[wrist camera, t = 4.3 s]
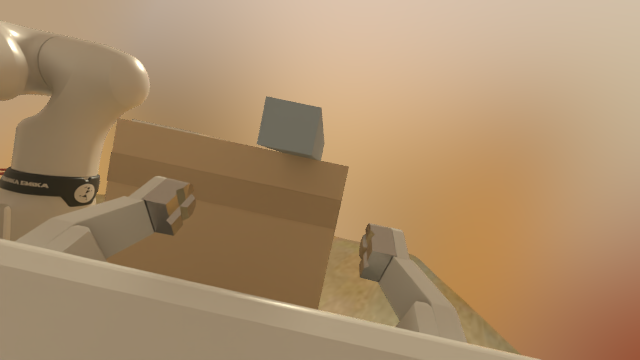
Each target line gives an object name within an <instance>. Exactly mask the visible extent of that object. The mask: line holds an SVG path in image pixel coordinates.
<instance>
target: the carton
mask: <svg viewBox="0 0 640 360" xmlns="http://www.w3.org/2000/svg"><path fill="white" fill-rule="evenodd" d="M347 173H348V166H343V165H338V164H333V163H329V162H324V161H319V160H315V159H310V158H305V157H300V156H296V155H291V154H286V153H281V152H277V151H272V150H267V149H262V148H258V147H253V146H248V145H243V144H238V143H234V142H230V141H226V140H222V139H219V138H215V137H211V136H208V135H204V134H200V133H196V132H191V131H186V130H182V129H177V128H172V127H167V126H162V125H157V124H153V123H148V122H144V121H139V120H134V119H132V121H129V120H125V119H120V118H118V119H117V126H116V131H115V137H114V144H113V150H112V152H111V157H110V164H109V170H108V176H107V181H108V182H107V188H106V194H105V200H104V202H106V201H110V200H113V199H117V198H120V197H123V196H126V197H129V196H130V195H131V194H133V193H134V192H135V191H136V190H138V189H139V188H140V187H142V186H143V185H144V184H146V183H147V182H148V181H150V180H151V179H152V178H153V177H155V176H161V177H165V178H170V179H175V180H179V181H183V182H187V183H190V184H192V185H193V188H194V191H193V193H192V195H193V196H194V198H195V200H196V205H195V209H194V211H193V214H192V215H191V216H190V217H189V218H188V219H185V220H183V226H182V227H181V228H180V229H179V230H178V231H177V233H176V234H175V235H174V236H172V235H167V234H162V233H157V232H154V233H153V234H152V235H150V236H148V237H146V238H144V239H142V240H140V241H138V242H137V243H135V244H133V245H131V246H129V247H127V248H125V249H123V250H122V251H120V252H118V253H116V254H114V255H112V256H110V257H108V258H107V259H106V260H107V262H108V263H112V264H117V265H121V266H125V267H130V268H134V269H139V270H143V271H148V272H152V273H157V274H161V275H165V276H170V277H174V278H179V279H183V280H188V281H192V282H197V283H201V284H205V285H210V286H214V287H219V288H223V289H228V290H232V291H237V292H241V293H246V294H250V295H255V296H259V297H263V298H268V299H272V300H277V301H281V302H286V303H290V304H295V305H299V306H304V307H308V308H313V309H317V310H318V306H319V301H320V297H321V292H322V287H323V283H324V278H325V274H326V269H327V264H328V260H329V255H330V251H331V246H332V241H333V237H334V232H335V228H336V224H337V218H338V214H339V210H340V205H341V200H342V196H343V191H344V186H345V182H346V177H347Z"/></svg>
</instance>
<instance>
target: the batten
mask: <svg viewBox="0 0 640 360" xmlns="http://www.w3.org/2000/svg"><path fill="white" fill-rule="evenodd" d="M257 144H258V145H261V146H265V147H267V148H270V149H273V150H276V151H279V152H282V153H286V154H291V155H296V156H300V157H305V158H310V159H315V160H319V161H321V157H322V152H323V147H324V134H323V122H322V109H321V108H320V107H315V106H310V105H305V104H300V103H296V102H291V101H286V100H281V99H276V98H272V97H266V100H265V105H264V111H263V116H262V121H261V126H260V132H259V136H258V141H257Z"/></svg>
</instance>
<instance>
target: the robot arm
mask: <svg viewBox="0 0 640 360" xmlns="http://www.w3.org/2000/svg"><path fill="white" fill-rule="evenodd" d="M149 90H150V80H149V76H148V73H147V71H146V69H145V68H144V66H143V65H142V63H141V62H140V61H139V60H138V59H137V58H135V57H133V56H131V55H129V54H127V53H125V52H123V51H120V50H118V49H115V48H113V47H111V46H108V45H105V44H100V43H95V42H91V41H86V40H81V39H77V38H73V37H68V36H64V35H59V34H55V33H50V32H46V31H41V30H37V29H33V28H29V27H25V26H20V25H16V24H13V23H9V22H4V21H1V20H0V101H6V100H10V99H13V98H15V97H16V96H18V95H26V94H35V95H46V96H51V98H50V100H49V102H48V103H47V105H46V106H45V107H44V109H42V110H41V111H40V112H39V113H38V114H36V115H35V116H32V117H29V118H26V119H24V120H22V121H21V122H20V123H19V124H18V126H17V128H16V134H15V141H14V149H13V156H12V164H11V167H9V168H7V169H0V170H1V171H5V172H2V173H0V175H3V176H2V177H1V179H0V360H540V359H536V358H531V357H527V356H522V355H518V354H514V353H509V352H505V351H500V350H496V349H491V348H487V347H482V346H478V345H473V344H469V343H467V340H466V337H465V335H464V332H463V329H462V326H461V323H460V320H459V317H458V314H457V311H456V309H455V308H454V307H453V305H452V304H451V303H450V302H449V301H448V300H447V299H446V297H445V296H444V295H443V294H442V293H441V292H440V291H439V290H438V288H437V287H436V286H435V285H434V284H433V283H432V282H431V280H430V279H429V278H428V277H427V276H426V275H425V274H424V272H423V271H422V270H421V269H420V268H419V267H418V266H417V265H416V263H415V262H414V261H413V260H410V259H409V255H408V251H407V246H406V242H405V238H404V234H403V231H402V230H399V229H394V228H388V227H384V226H379V225H375V224H370V223H369V224H368V225H367V227H366V234H365V235H364V236H363V237H362V240H361V243H360V249H359V256H360V258H361V259H362V260H361V262H360V264H359V269H360V278H364V279H368V280H372V281H376V282H379V285H380V287H381V289H382V290H383V292H384V294H385V296H386V298H387V299H388V301H389V303H390V305H391V306H392V308H393V310H394V312H395V313H396V315H397V317H398V319H399V321H400V322H399V323H398V324H397V325H396V327H393V326H389V325H384V324H380V323H375V322H371V321H366V320H362V319H357V318H353V317H348V316H344V315H339V314H335V313H330V312H326V311H322V310H317V309H313V308H308V307H304V306H299V305H295V304H290V303H286V302H281V301H277V300H272V299H268V298H263V297H259V296H255V295H250V294H246V293H241V292H237V291H232V290H228V289H223V288H219V287H214V286H210V285H205V284H201V283H197V282H192V281H188V280H183V279H179V278H174V277H170V276H165V275H161V274H157V273H152V272H148V271H143V270H139V269H134V268H130V267H125V266H121V265H117V264H112V263H108V262H107V260H106V259H107V258H108V257H110V256H112V255H114V254H116V253H118V252H120V251H122V250H123V249H125V248H127V247H129V246H131V245H133V244H135V243H137V242H138V241H140V240H142V239H144V238H146V237H148V236H150V235H152V234H153V233H154V232H157V233H162V234H167V235H172V236H174V235H175V234H176V233H177V231H178V230H179V229H180V228H181V227H182V226H183V220H185V219H188V218H189V217H190V216H191V215H192V214H193V211H194V209H195V205H196V200H195V198H194V196H193V195H192V193H193V191H194V188H193V185H192V184H190V183H187V182H183V181H179V180H175V179H170V178H165V177H161V176H155V177H153V178H152V179H151V180H150V181H148V182H147V183H146V184H144V185H143V186H142V187H140V188H139V189H138V190H136V191H135V192H134V193H133V194H131V195H130V196H129V197H126V196H123V197H120V198H117V199H113V200H110V201H106V202H103V203H100V204H96V198H95V196H96V193H97V192H98V188H99V184H100V181H99V180H100V176H99V175H98V168H99V163H100V157H101V153H102V148H103V143H104V140H105V138H106V135H107V133H108V132H109V130H110V128H111V127H112V125H113V124H114V123H115V122H116V120H117V119H118V118H119V117H120V116H121V115H123V114H124V113H125V112H127V111H128V110H130V109H132V108H135V107H137V106H139V105H141V104H142V103H143V102H144V101H145V99H146V98H147V96H148V94H149Z"/></svg>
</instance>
